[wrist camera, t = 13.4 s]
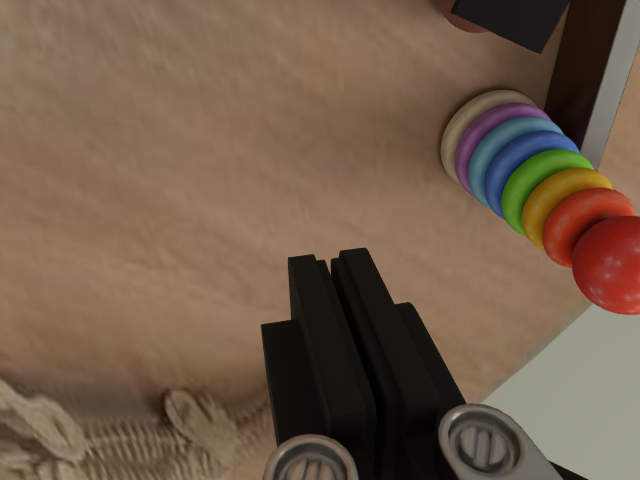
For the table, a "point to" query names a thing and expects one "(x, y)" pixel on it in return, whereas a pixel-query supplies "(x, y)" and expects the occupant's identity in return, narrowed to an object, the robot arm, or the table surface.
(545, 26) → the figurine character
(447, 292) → the table surface
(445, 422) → the robot arm
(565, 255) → the stacking toy
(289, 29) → the table surface
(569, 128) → the walnut board
